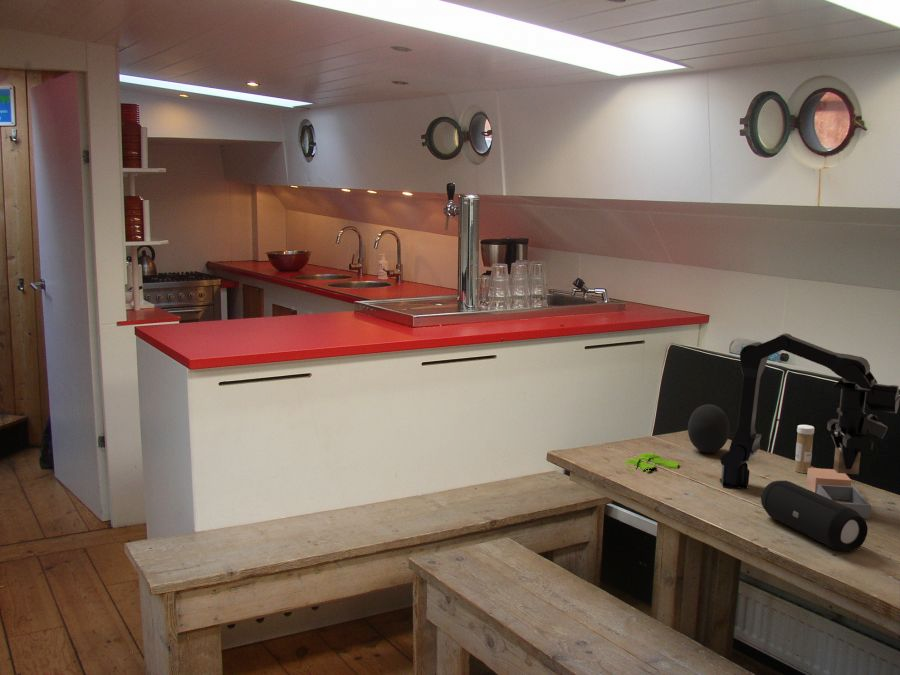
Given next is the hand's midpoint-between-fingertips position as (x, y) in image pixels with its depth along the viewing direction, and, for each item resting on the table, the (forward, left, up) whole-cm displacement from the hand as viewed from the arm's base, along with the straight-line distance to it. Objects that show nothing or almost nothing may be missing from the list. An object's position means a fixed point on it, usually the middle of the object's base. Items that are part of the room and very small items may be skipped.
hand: (846, 466), depth 228 cm
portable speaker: (-13, -21, -11) cm, 27 cm away
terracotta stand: (0, +14, -11) cm, 18 cm away
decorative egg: (-28, +44, -11) cm, 53 cm away
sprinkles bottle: (-3, +30, -11) cm, 32 cm away
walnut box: (0, 0, -1) cm, 1 cm away
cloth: (-46, +26, -12) cm, 54 cm away
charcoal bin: (0, 0, -11) cm, 11 cm away
